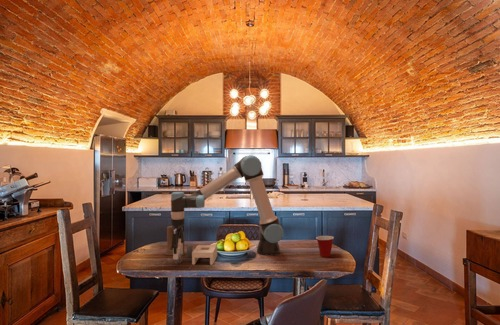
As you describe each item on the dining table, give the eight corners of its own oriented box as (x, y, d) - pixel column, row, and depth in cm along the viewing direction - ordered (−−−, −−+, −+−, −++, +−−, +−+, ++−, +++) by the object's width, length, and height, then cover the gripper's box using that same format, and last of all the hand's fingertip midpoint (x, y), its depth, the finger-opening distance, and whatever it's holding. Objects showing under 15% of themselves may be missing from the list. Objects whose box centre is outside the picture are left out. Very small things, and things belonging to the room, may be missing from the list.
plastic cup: (320, 252, 206) (320, 234, 206) (336, 255, 200) (336, 236, 200) (313, 256, 198) (313, 237, 197) (329, 259, 191) (329, 239, 191)
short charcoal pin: (193, 255, 201) (193, 244, 201) (191, 257, 198) (191, 246, 198) (187, 255, 201) (187, 244, 201) (186, 257, 198) (186, 246, 198)
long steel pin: (181, 261, 190) (181, 238, 189) (180, 263, 186) (180, 239, 186) (176, 261, 190) (175, 238, 190) (174, 263, 186) (174, 239, 186)
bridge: (217, 256, 200) (217, 245, 200) (212, 264, 184) (212, 252, 184) (198, 256, 200) (198, 244, 200) (192, 264, 184) (191, 252, 184)
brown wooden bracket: (182, 255, 201) (182, 227, 201) (166, 255, 202) (165, 227, 202) (184, 254, 205) (184, 226, 204) (168, 253, 205) (167, 225, 205)
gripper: (176, 215, 199) (177, 251, 199) (165, 222, 177) (165, 262, 177) (188, 215, 198) (189, 251, 199) (178, 222, 176) (179, 262, 177)
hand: (178, 256), depth 188 cm, fingers open, 9 cm apart
